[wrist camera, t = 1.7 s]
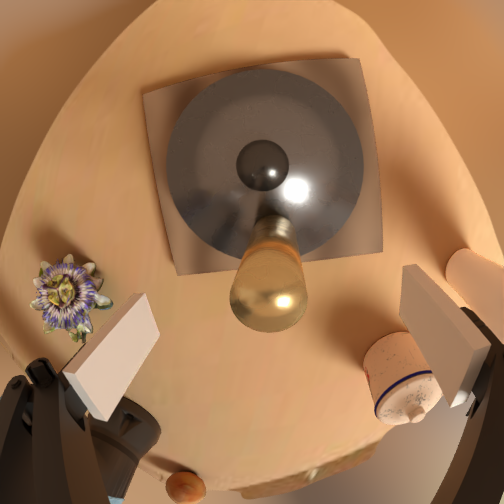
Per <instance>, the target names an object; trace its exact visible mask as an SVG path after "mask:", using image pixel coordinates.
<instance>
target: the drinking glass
mask: <svg viewBox="0 0 504 504" xmlns="http://www.w3.org/2000/svg"><path fill="white" fill-rule="evenodd" d="M446 280H447V282H448V284H449V285H450V286H451V287H452V288H453V289H454V290H455V291H456V292H457V293H458V294H459V295H460V297H461V298H462V299H463V300H464V302H465V303H466V304H467V305H468V307H469V308H470V309H471V310H472V311H473V312H475V314H476V315H477V316H478V317H479V318H480V320H482V321H483V322H484V323H485V326H488V328H489V329H490V330H491V331H492V332H493V333H494V334H495V336H496V337H497V338H498V339H499V340H500V341H501V342H502V344H504V267H503V266H501V265H499V264H497V263H495V262H493V261H491V260H489V259H487V258H485V257H483V256H481V255H479V254H477V253H475V252H474V251H472V250H470V249H467V248H463V249H460V250H458V251H456V252H455V253H454V254H453V255H452V256H451V258H450V259H449V261H448V263H447V266H446Z"/></svg>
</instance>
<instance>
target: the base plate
mask: <svg viewBox="0 0 504 504" xmlns="http://www.w3.org/2000/svg"><path fill="white" fill-rule="evenodd" d="M258 69H270V70H279V71H285V72H289V73H293V74H296V75H299V76H302V77H304V78H306V79H308V80H310V81H313V82H314V83H316V84H317V85H319V86H321V87H322V88H324V89H325V90H326V91H327V92H328V93H330V94H331V95H332V96H333V97H334V98H335V99H336V100H337V101H338V102H339V103H340V104H341V105H342V107H343V108H344V109H345V111H346V112H347V114H348V115H349V117H350V118H351V120H352V122H353V124H354V126H355V128H356V130H357V133H358V136H359V139H360V142H361V146H362V152H363V161H364V173H363V182H362V187H361V191H360V195H359V197H358V200H357V203H356V205H355V207H354V209H353V211H352V213H351V215H350V217H349V218H348V220H347V221H346V222H345V224H344V225H343V226H342V228H341V229H340V230H339V231H338V232H337V233H336V234H335V235H334V236H333V237H332V238H331V239H329V240H328V241H327V242H326V243H324V244H323V245H321V246H320V247H318V248H317V249H315V250H313V251H311V252H309V253H307V254H305V255H303V256H300V258H301V262H309V261H317V260H325V259H333V258H341V257H349V256H357V255H365V254H373V253H380V252H383V228H382V204H381V189H380V177H379V167H378V158H377V149H376V142H375V135H374V128H373V122H372V116H371V110H370V105H369V99H368V94H367V89H366V85H365V80H364V76H363V72H362V68H361V63H360V60H359V59H357V58H337V59H312V60H298V61H287V62H278V63H270V64H263V65H256V66H250V67H244V68H239V69H233V70H228V71H224V72H219V73H214V74H210V75H206V76H202V77H198V78H194V79H190V80H187V81H183V82H180V83H176V84H173V85H170V86H166V87H163V88H160V89H157V90H154V91H151V92H148V93H145V94H143V103H144V111H145V118H146V125H147V132H148V139H149V145H150V151H151V157H152V163H153V169H154V174H155V179H156V185H157V190H158V195H159V200H160V204H161V209H162V214H163V218H164V223H165V227H166V232H167V236H168V240H169V244H170V248H171V252H172V256H173V260H174V264H175V268H176V272H177V276H181V275H191V274H200V273H210V272H220V271H229V270H238V268H239V266H240V263H241V260H242V259H238V258H235V257H232V256H229V255H227V254H224V253H222V252H220V251H218V250H216V249H215V248H213V247H211V246H210V245H208V244H207V243H205V242H204V241H203V240H202V239H201V238H199V237H198V236H197V235H196V234H195V233H194V232H193V231H192V230H191V229H190V228H189V227H188V225H187V224H186V222H185V221H184V220H183V218H182V217H181V215H180V214H179V212H178V210H177V208H176V206H175V204H174V202H173V199H172V197H171V194H170V190H169V186H168V181H167V173H166V156H167V149H168V144H169V140H170V137H171V133H172V131H173V129H174V126H175V124H176V122H177V120H178V118H179V117H180V115H181V113H182V112H183V110H184V109H185V108H186V107H187V105H188V104H189V103H190V102H191V101H192V100H193V99H194V98H195V97H196V96H197V95H198V94H199V93H200V92H201V91H203V90H204V89H205V88H207V87H208V86H209V85H211V84H213V83H214V82H216V81H218V80H220V79H222V78H224V77H227V76H229V75H232V74H235V73H239V72H243V71H248V70H258Z"/></svg>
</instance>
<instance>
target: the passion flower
mask: <svg viewBox="0 0 504 504" xmlns="http://www.w3.org/2000/svg"><path fill="white" fill-rule="evenodd" d="M57 260H58V259H57ZM74 261H75V260H74V257H73V255H72V254H68V255H67V256H66V257H65V258H64V260H63V259H62V263H61V264H59V261H58V262H57V261H56V264H55V265H53V266H52V265H51V264H50V263H49V262H47V261H42V262H41V269H40V272H39V277H35V278H34V279H33V282H34V285H35V287H36V288H37V290H39V291H40V292H39V293H40V294H41V296H37V299H36V300H33V301H32V302H30V307H31V308H34V309H35V310H39V311H40V310H44V311H43V316H42V318H43V320H44V326H43V330H44V334H47V333H50V332H52V331H54V330H55V329H57V328H58V329H66V330H67V331H70V330H71V329H72V328H76V329H77V334H74V333H72V332H69V335H70V337H71V338H72V340H73V341H74V342H78V339H82V344H83V343H85V342H86V334H87V333H93V326H92V324H91V321H90V317H89V316H88V312H89V311H90V310H92V309H95V308H98V309H100V310H106V309H110V308H111V307H112V306H113V302H112V301H111V299H110V298H108V297H106V296H104V295H100V294H98V291H99V290H100V288H101V286H102V284H103V281H104V279H102V278H96V277H94V271H95V267H96V265H95V263H91V262H89V263H86V264H84V265H82V266H78V265H75V263H74ZM36 293H37V292H36ZM80 332H82V335H80Z"/></svg>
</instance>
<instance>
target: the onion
mask: <svg viewBox="0 0 504 504" xmlns="http://www.w3.org/2000/svg"><path fill="white" fill-rule="evenodd" d="M166 491H167V493H168V495H169V497H170V498H171V499H172V500H173V501H174V502H175V503H177V504H196V503H198V502H199V501H201V500H202V499H203V498H204V497H205V495H206V487H205V484H204V482H203V480H202V479H201V478H199V477H198V476H197V475H195V474H193V473H191V472H188V471H187V472H186V471H185V472H178V473H175V474H172V475H171V476H170V477H169V478H168V479H167V481H166Z"/></svg>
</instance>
